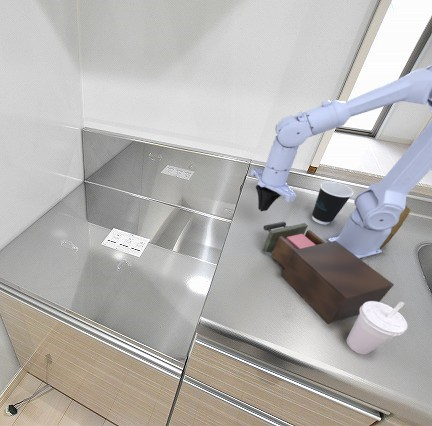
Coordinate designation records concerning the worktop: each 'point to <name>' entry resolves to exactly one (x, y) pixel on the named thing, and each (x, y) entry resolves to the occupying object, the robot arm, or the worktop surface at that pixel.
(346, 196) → the dixie cup
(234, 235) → the worktop surface
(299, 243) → the block
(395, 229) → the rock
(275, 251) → the drawer
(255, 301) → the worktop surface
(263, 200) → the robot arm
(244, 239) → the worktop surface
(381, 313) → the smoothie
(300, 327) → the worktop surface
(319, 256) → the cabinet
